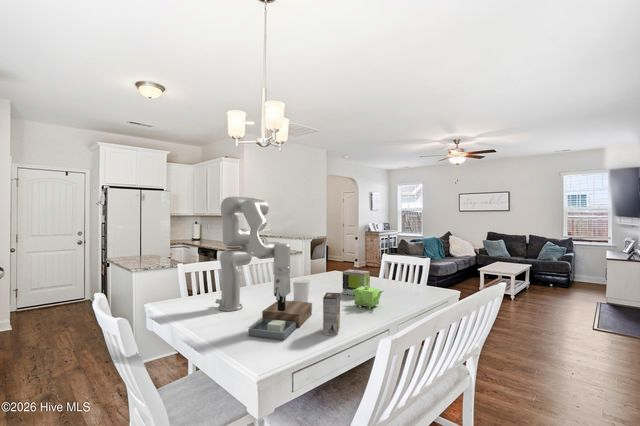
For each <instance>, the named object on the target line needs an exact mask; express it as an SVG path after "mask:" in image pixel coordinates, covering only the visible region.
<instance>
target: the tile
mask: <svg viewBox="0 0 640 426" xmlns="http://www.w3.org/2000/svg"><path fill="white" fill-rule="evenodd" d="M285 324H286V321H281V320H272V321H271V322H269V323H268V324H267V331H276V332H281V331H282V330H284V329H285Z"/></svg>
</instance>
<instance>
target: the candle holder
mask: <svg viewBox="0 0 640 426" xmlns="http://www.w3.org/2000/svg"><path fill="white" fill-rule="evenodd" d="M310 281H311V280H310V279H305V278H300V279H293V280H292V284H293V285H292V288H293V301H296V302H307V303H309V298H310V297H309V295H310V283H311V282H310Z"/></svg>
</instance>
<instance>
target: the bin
mask: <svg viewBox="0 0 640 426" xmlns="http://www.w3.org/2000/svg"><path fill="white" fill-rule="evenodd" d="M271 321H272V320H271V319H262V318H261V319H260V320H259V321H258V322H256V323H255V324H253V325H252V326H250V327H249V328H248V333H247V334H248V336H247V337H251V338H259V339H269V340H274V341H275V340H276V341H285V340H287V338H289V336H290V335H291V334H293V332H294V331H295V330H297V328H296V322H290V321H286V324H285V329H284V330H282V331H281V332H276V331H267V324H268V323H269V322H271Z"/></svg>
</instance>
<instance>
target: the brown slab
mask: <svg viewBox="0 0 640 426" xmlns="http://www.w3.org/2000/svg"><path fill="white" fill-rule="evenodd" d="M284 302H285V310H284V311H278V302H277V301H275V302H273V303H272V304H270V306H268V307H266V308H265V309H263V310H262V311H261V314H262V315H261V316H262V317H261V320H262V319H271V320H281V321H290V322H296V329H297V328H300V327H302V326H303V325H304V324H305V322H306V321H307V320H308V319H310V317H311V316H312V310H313V308H312V307H313V303H312V302H296V301H294V300H292V301H291V300H286V301H284Z"/></svg>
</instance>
